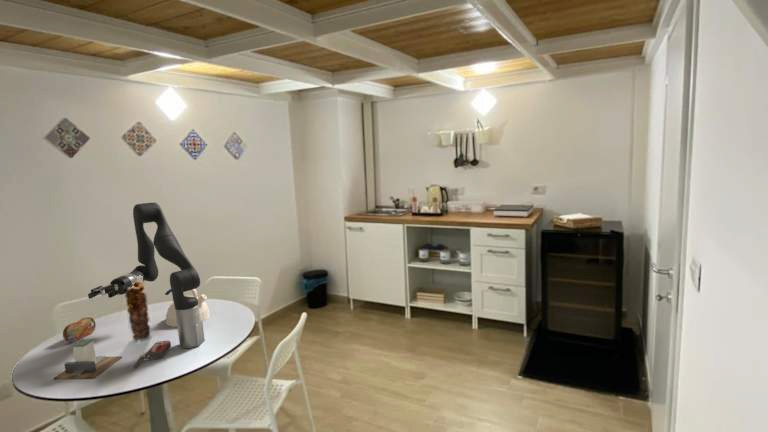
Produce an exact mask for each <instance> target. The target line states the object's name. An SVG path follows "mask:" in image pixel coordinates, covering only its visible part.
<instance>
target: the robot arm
mask: <svg viewBox="0 0 768 432" xmlns="http://www.w3.org/2000/svg"><path fill="white" fill-rule="evenodd" d="M132 216H133V217H132V218H133V224H134V231H135V236H136V240H137V242H136V243H137V261H138V262H139V264H140V265H137V266H136V267H134V269H133V270H132V271H130V272H129V273H127V274H126V273H125V274H123V275H120V276H119V277H118V276H117V277H116V278H114V279H112V280H111V281H110V283H109V284H107V285H104V286H103V285H100V286H97V287H95V288H92V289H90V292H89V293H88V294H87V297H88V299H93V298H95V297H97V296H108V298H109V299H111V298H113V297H115V296H120V295H125V294H126V293H129V292H130V291H131V287H132V286H133V285H134V284H135V282H136V281H137V278H136V276H139V275H141V276H143V282H151V283H152V282H155V281H157V278H158V277H159V268H158V265H157V262H156V259H155V249H156V252H157V253H158V255H159V256H160V257H161V258H163V259H164V260H166V261H168V262H170V263H171V264H173V265H175V266H177V267H178V268H179V269H180V270H177V271H173V272H172V273H170V275H169V286H170V289H171V290H172V292H171V294H172V295H171V296H172V301H173V302H174V305H175V313H176V321H177V327H176V328H177V336H178V341H179V347H180V348H181V349H193V348H197V347H200V346H201V344H203V343H204V342H205V341H206V339H205V338H206V337H205V332H204V331H205V330H204V323H203V322H204V321H202V320H200V314H199V306H198V299H197V298H196V297H190V296H191V295H185V292H188V291H191V290H193V289H195V290H197V288H199V287H200V285H201V278H200V275H199V273H198V271H197V270H196V268H195V267H194V265H193V264H192V262H191V261H190V260H189V258H188V257H187V256H186V254H185V253H184V250H183V249H182V247H181V245H180V243H179V241H178V239H177V237H176V236H175V235H174V233H173V230H172V229H171V227H170V226H169V223H168V221H167V220H166V216H165V214H164V212H163V209H162V207H161V205H159V204H158V203H157V202H143V203H137V204H134V206H133V208H132ZM147 223H148V224H149V223H154V224H156V226H157V227H156V231H155V233H154V236H153V237H154V238H153V240H152V238H150V236H148V234H147V231H145V228H144V224H147Z"/></svg>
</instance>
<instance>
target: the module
mask: <svg viewBox="0 0 768 432" xmlns="http://www.w3.org/2000/svg"><path fill="white" fill-rule="evenodd" d="M72 351H73V355H74V360H75V361H74V362H84V361H95V363H97V361H96V357H97V356H96V350H95V345H94V339H93V338H88V339H87V338H82V339H80V340H78V341H76V342H74V344H72Z"/></svg>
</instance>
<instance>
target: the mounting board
mask: <svg viewBox="0 0 768 432" xmlns="http://www.w3.org/2000/svg"><path fill="white" fill-rule="evenodd" d="M105 357H106V358H105V359H103V360H102V361H101V362H99V363H98V364H96V365H95V366H96V371H95V372H94V373H84V374H82V375H81V376H71V374H72V373H68V374H66V371H65V370H63V371H62V372H59V373H58V374H57V375H56V376H54V377H53V380H76V379H77V380H79V379H80V380H81V379H82V380H83V379H84V380H85V379H96V378H98V376H100V375H101V374H102V373H104V372H106V370H108V369H109V368H110V367H111V366H114V364H116V363H117V362H118V361H119V360H121V359H122V358H123V356H119V355H118V356H117V355H116V356H115V355H114V356H105Z"/></svg>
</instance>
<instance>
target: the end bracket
mask: <svg viewBox="0 0 768 432" xmlns="http://www.w3.org/2000/svg"><path fill="white" fill-rule="evenodd" d="M64 371H66V374H68V373H73V372H75V371H84V373H94V372H95V371H96V366H95V361H84V362H75V361H66V362H65V363H64Z"/></svg>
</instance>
